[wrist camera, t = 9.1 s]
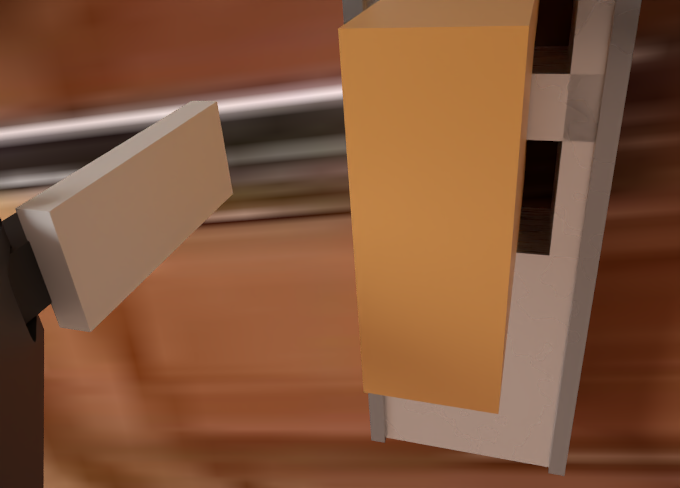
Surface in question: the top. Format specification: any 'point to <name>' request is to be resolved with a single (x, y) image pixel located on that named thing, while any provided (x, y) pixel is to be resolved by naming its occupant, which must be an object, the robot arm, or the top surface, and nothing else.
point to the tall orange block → (436, 190)
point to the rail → (545, 252)
